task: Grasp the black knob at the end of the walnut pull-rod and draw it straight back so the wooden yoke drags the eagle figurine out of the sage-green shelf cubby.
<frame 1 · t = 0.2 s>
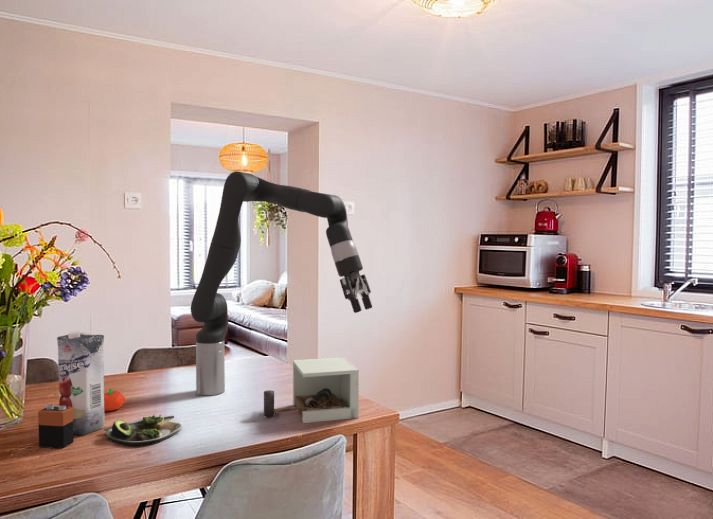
hand: (363, 310, 159), 31 cm above the table, tool tilted 20°, fingers open, 8 cm apart
tomato: (112, 410, 164), on the table
juice carton: (82, 430, 147), on the table
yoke: (302, 401, 161), point 4 cm above the table, slide at 0.0 cm
cubby: (322, 411, 163), on the table
battery: (56, 445, 136), on the table
salad plate: (142, 436, 144), on the table
eagle figurine: (319, 412, 163), on the table
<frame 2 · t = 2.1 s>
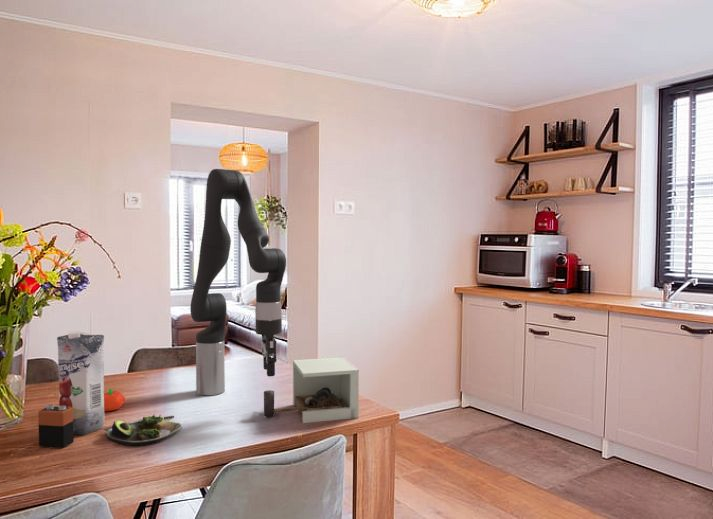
hand: (269, 372, 158), 13 cm above the table, tool pointing down, fingers open, 8 cm apart
eagle figurine: (318, 411, 164), on the table
everything else where it was.
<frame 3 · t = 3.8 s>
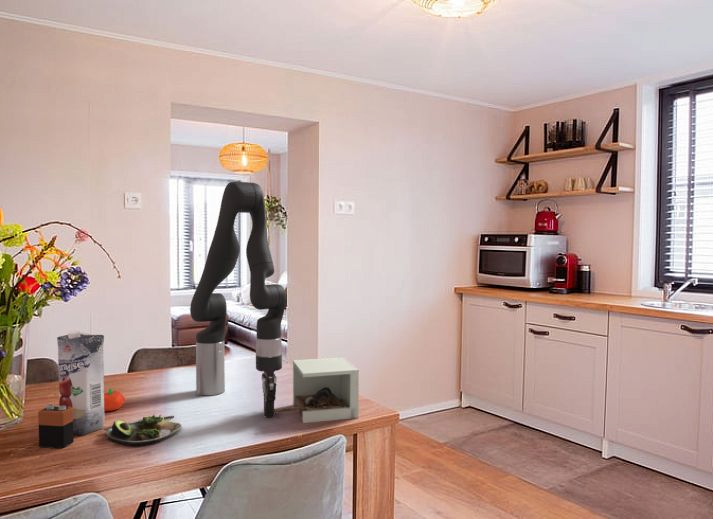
hand: (269, 411, 159), 1 cm above the table, tool pointing down, fingers closed on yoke, 3 cm apart
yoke: (302, 401, 161), point 4 cm above the table, slide at 0.0 cm, touching gripper
everything else where it was.
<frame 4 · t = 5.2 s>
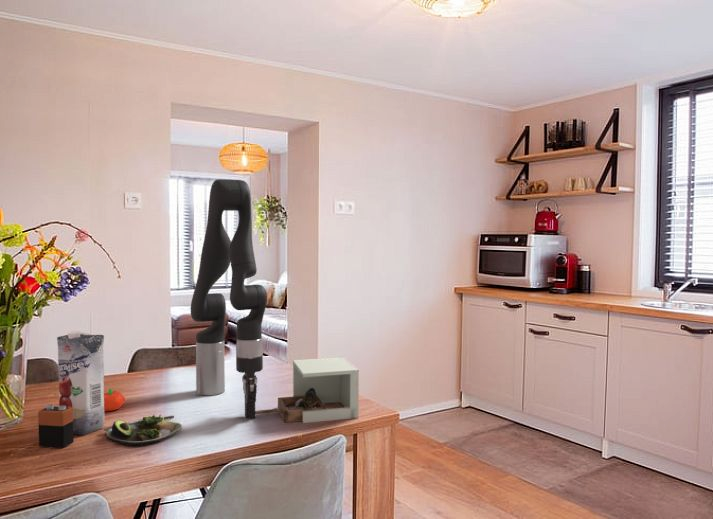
hand: (250, 413, 157), 1 cm above the table, tool pointing down, fingers closed on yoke, 3 cm apart
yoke: (283, 402, 160), point 4 cm above the table, slide at 5.5 cm, touching eagle figurine, gripper
eagle figurine: (306, 412, 162), on the table, touching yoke
everything else where it was.
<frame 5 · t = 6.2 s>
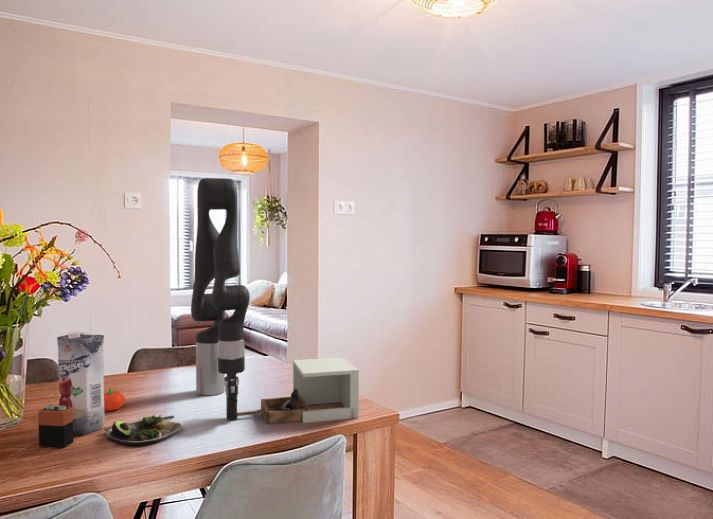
hand: (231, 414, 156), 1 cm above the table, tool pointing down, fingers closed on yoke, 3 cm apart
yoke: (266, 403, 158), point 4 cm above the table, slide at 10.6 cm, touching gripper
eagle figurine: (292, 414, 161), on the table
everything else where it was.
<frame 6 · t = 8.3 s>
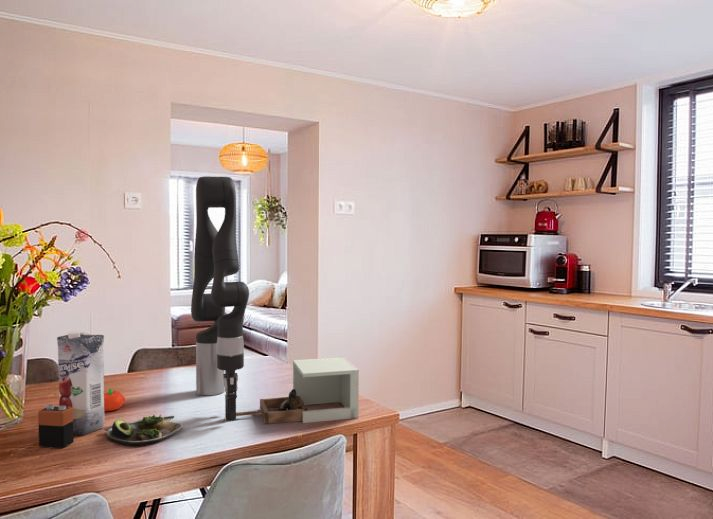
hand: (230, 407, 156), 3 cm above the table, tool pointing down, fingers open, 8 cm apart
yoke: (265, 404, 158), point 4 cm above the table, slide at 10.9 cm
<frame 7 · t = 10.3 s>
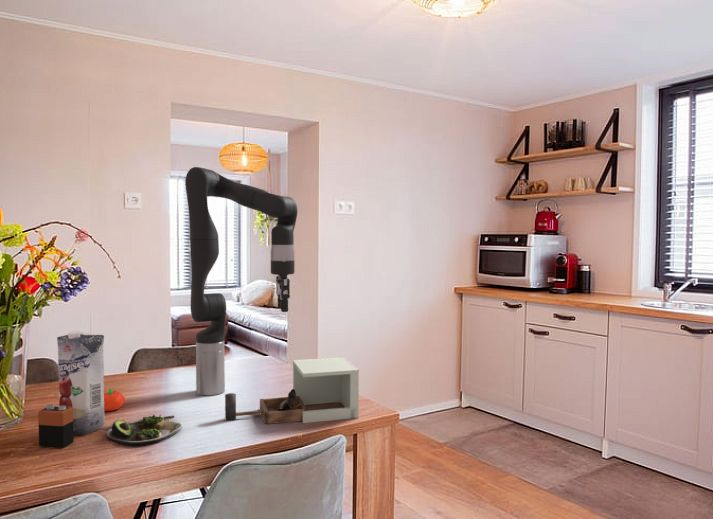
hand: (282, 310, 173), 29 cm above the table, tool pointing down, fingers open, 8 cm apart
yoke: (264, 404, 158), point 4 cm above the table, slide at 11.0 cm, touching eagle figurine
eagle figurine: (289, 413, 161), on the table, touching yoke
everything else where it was.
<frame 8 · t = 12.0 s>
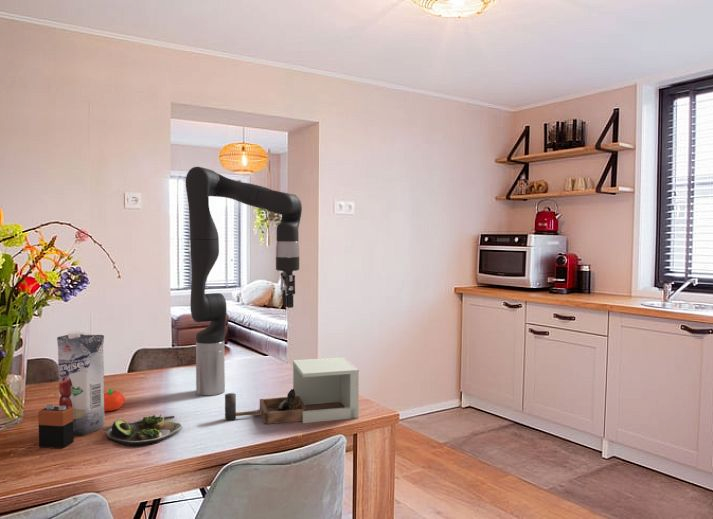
hand: (287, 305, 175), 30 cm above the table, tool pointing down, fingers open, 8 cm apart
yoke: (264, 404, 158), point 4 cm above the table, slide at 11.0 cm
eagle figurine: (288, 413, 161), on the table
everything else where it was.
at the end: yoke slide at 11.0 cm; eagle figurine inside the target area (2.8 cm from its centre), on the table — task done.
